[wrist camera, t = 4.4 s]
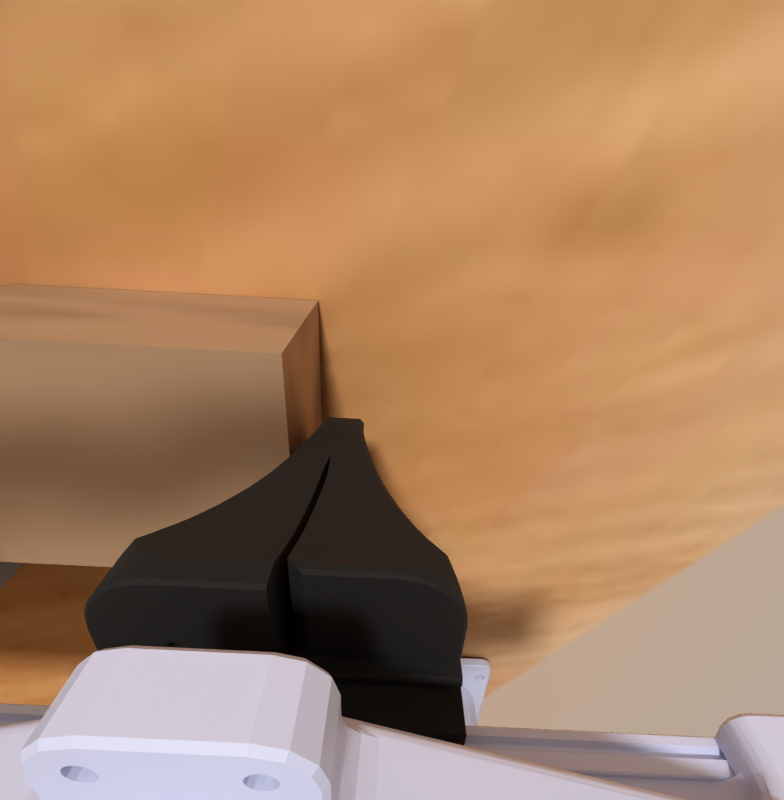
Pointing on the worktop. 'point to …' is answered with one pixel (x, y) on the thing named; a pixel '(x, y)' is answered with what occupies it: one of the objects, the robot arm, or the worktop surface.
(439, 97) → the worktop surface
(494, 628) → the worktop surface
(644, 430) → the worktop surface
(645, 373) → the worktop surface
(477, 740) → the robot arm
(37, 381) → the tan wooden chunk
